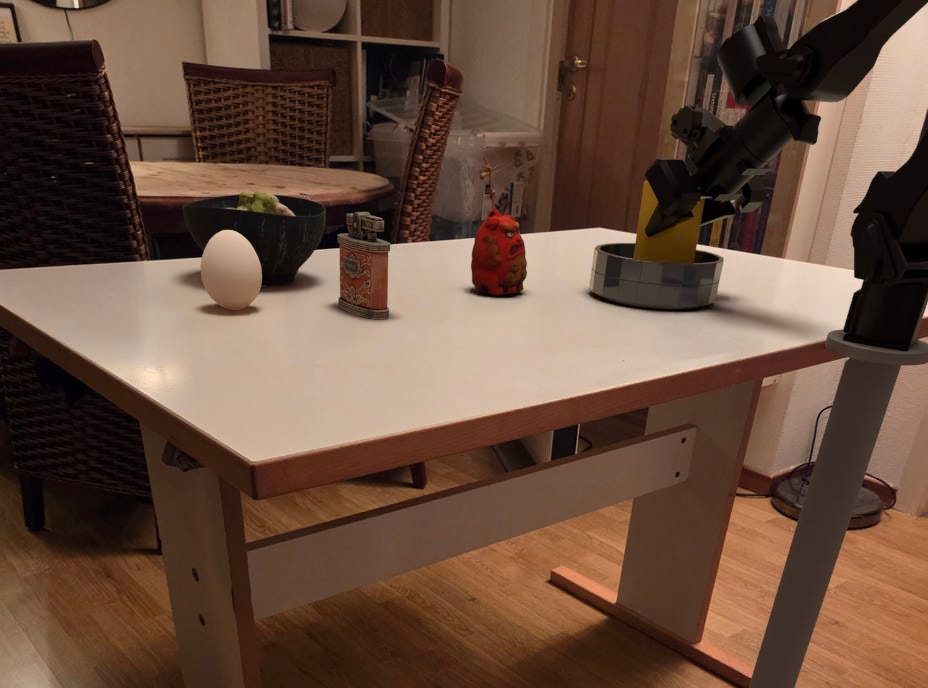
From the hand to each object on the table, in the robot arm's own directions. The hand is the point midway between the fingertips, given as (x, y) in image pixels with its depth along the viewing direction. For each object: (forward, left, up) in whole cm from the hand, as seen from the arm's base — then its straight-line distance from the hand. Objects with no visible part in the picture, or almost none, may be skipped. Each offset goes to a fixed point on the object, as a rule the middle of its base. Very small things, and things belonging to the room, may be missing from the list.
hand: (659, 232), depth 111 cm
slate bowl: (-1, +2, -7) cm, 8 cm away
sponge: (-1, 0, -7) cm, 7 cm away
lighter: (+19, +37, -8) cm, 43 cm away
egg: (+29, +47, -8) cm, 56 cm away
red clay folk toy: (+15, +15, -8) cm, 23 cm away
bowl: (+39, +33, -8) cm, 52 cm away
